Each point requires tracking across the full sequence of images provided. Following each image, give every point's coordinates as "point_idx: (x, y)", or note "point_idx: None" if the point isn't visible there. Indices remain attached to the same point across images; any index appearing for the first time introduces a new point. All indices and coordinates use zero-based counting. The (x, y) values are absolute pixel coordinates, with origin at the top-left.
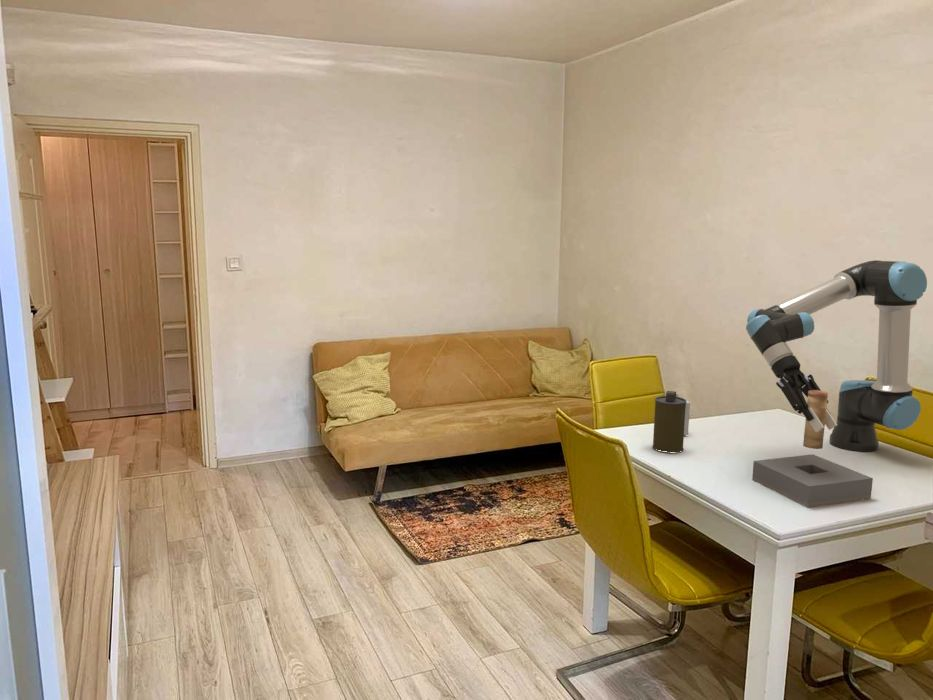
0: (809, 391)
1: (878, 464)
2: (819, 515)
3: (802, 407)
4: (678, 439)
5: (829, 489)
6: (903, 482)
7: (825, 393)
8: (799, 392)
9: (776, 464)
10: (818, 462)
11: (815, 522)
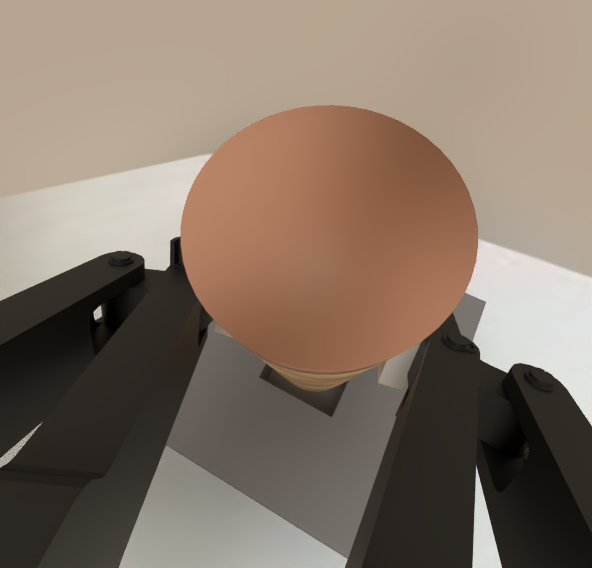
0: (395, 333)
1: None
2: (482, 278)
3: (497, 371)
4: None
5: None
6: (91, 216)
7: (334, 122)
8: (461, 509)
9: (356, 480)
10: (218, 368)
11: (533, 269)
